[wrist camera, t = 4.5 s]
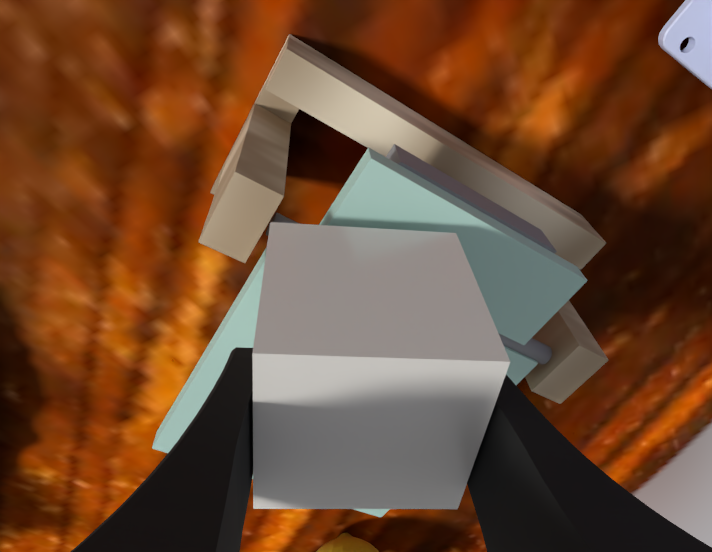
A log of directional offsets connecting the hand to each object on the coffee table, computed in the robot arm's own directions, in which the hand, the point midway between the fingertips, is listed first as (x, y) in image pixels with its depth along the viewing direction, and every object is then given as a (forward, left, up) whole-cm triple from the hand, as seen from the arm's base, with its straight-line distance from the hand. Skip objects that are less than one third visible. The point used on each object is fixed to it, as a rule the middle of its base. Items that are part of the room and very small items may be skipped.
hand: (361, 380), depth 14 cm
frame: (-2, -1, -10) cm, 10 cm away
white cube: (0, 0, -3) cm, 3 cm away
